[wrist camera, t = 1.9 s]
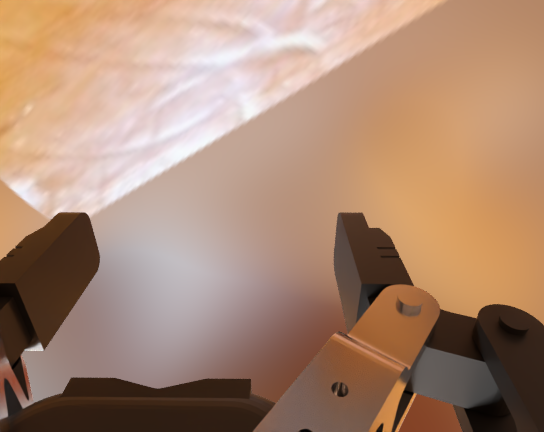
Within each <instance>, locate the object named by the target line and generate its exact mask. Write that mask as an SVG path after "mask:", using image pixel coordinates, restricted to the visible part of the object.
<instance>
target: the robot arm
mask: <svg viewBox="0 0 544 432" xmlns="http://www.w3.org/2000/svg"><path fill="white" fill-rule="evenodd" d="M99 263H100V255H99V250H98V247H97V243H96V239H95V236H94V232H93V228H92V225H91V221H90V218H89V216H88V215H87V214H86V213H74V212H61V213H58V214H57V215H56V216H55V217H54V218H53V219H52V220H51V221H50V222H48V224H46V225H45V226H44V227H43V228H41V229H39V230H37V231H35V232H34V233H32V234H30V235H28V236H26V237H25V238H24V239H23V240H22V241H21V242H20V243H19V244H18V245H17V246H16V248H15V249H12V250H11V251H10V252H9V253H8V254H7V257H4V258H3V259H2V260H0V432H398V430H399V428H400V426H401V424H402V422H403V420H404V418H405V416H406V414H407V412H408V410H409V408H410V406H411V404H412V402H413V400H414V398H415V396H416V394H420V395H423V396H427V397H430V398H433V399H437V400H440V401H443V402H447V403H450V404H453V407H454V410H455V412H456V415H457V418H458V420H459V423H460V426H461V429H462V431H463V432H544V325H543V324H542V323H541V322H540V321H538V320H537V319H536V318H535V317H533V316H532V315H530V314H528V313H527V312H525V311H522V310H520V309H517V308H515V307H511V306H507V305H500V304H493V305H488V306H485V307H483V308H482V309H481V310H480V311H479V313H478V316H477V318H472V317H468V316H464V315H460V314H455V313H451V312H447V311H444V310H441V309H440V306H439V304H438V302H437V301H436V299H434V297H433V296H432V295H430V294H429V293H427V292H426V291H424V290H422V289H420V288H417V287H414V285H413V283H412V281H411V279H410V277H409V275H408V273H407V270H406V268H405V267H404V264H403V262H402V260H401V258H399V254H398V252H397V250H396V249H395V246H394V244H393V242H392V240H391V238H390V237H389V236H388V235H387V234H386V233H385V232H383V231H382V230H381V229H380V228H369V227H368V225H367V222H366V220H365V217H364V215H363V213H339V214H338V217H337V227H336V238H335V248H334V271H335V276H336V281H337V285H338V290H339V295H340V299H341V304H342V309H343V313H344V317H345V323H346V327H347V332H348V335H346V334H344V333H342V332H337V333H335V334H334V335H333V336H332V337H331V338H330V339H329V341H328V342H327V343H326V344H325V346H324V347H323V348H322V349H321V350H320V351H319V353H318V354H317V355H316V356H315V357H314V359H313V360H312V361H311V362H310V364H309V365H308V366H307V367H306V368H305V369H304V371H303V372H302V373H301V374H300V375H299V377H298V378H297V379H296V380H295V381H294V383H293V384H292V385H291V386H290V387H289V389H288V390H287V391H286V392H285V393H284V395H283V396H282V397H281V398H280V399H279V401H278V402H277V403H274V402H272V401H270V400H268V399H266V398H263V397H261V396H258V395H254V394H252V392H251V379H203V380H198V381H194V382H189V383H184V384H180V385H175V386H170V387H166V388H161V389H155V388H151V387H147V386H143V385H140V384H136V383H132V382H128V381H124V380H121V379H117V378H71V379H70V381H69V383H68V384H67V386H66V388H65V390H64V392H63V393H62V394H58V395H54V396H51V397H48V398H45V399H43V400H40V401H38V402H35V403H34V402H33V397H32V392H31V387H30V382H29V377H28V373H27V368H26V364H25V361H24V359H23V357H22V355H21V354H22V352H23V351H44V350H45V348H46V347H47V345H48V344H49V342H50V341H51V339H52V338H53V336H54V335H55V333H56V332H57V331H58V329H59V327H60V326H61V325H62V323H63V322H64V320H65V319H66V317H67V316H68V314H69V312H70V311H71V310H72V308H73V307H74V305H75V304H76V302H77V301H78V299H79V298H80V296H81V295H82V293H83V292H84V290H85V289H86V287H87V286H88V284H89V283H90V281H91V280H92V278H93V277H94V275H95V274H96V272H97V270H98V267H99Z"/></svg>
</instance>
